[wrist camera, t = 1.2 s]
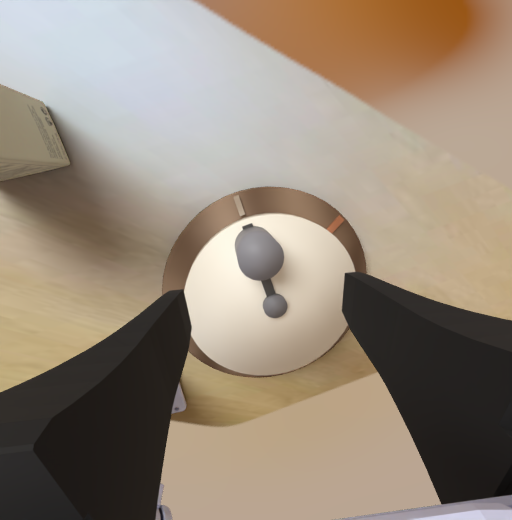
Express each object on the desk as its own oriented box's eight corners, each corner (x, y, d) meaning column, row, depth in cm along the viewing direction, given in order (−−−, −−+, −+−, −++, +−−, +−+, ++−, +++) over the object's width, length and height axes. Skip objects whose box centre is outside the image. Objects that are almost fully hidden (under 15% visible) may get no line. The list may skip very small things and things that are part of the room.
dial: (360, 331, 25) (394, 368, 20) (222, 383, 25) (223, 433, 20) (329, 187, 20) (364, 189, 15) (155, 249, 19) (134, 271, 15)
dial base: (191, 385, 26) (190, 396, 25) (138, 206, 20) (132, 207, 18) (360, 347, 28) (367, 356, 26) (359, 171, 21) (368, 170, 20)
